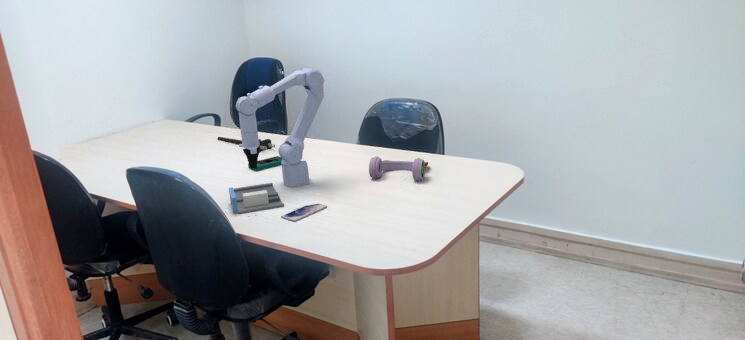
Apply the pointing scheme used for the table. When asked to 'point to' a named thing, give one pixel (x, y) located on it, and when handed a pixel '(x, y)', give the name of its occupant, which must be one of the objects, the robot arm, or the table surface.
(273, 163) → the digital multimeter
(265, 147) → the electrical plug
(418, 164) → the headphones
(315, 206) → the smartphone
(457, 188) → the table surface
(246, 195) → the light grey long block
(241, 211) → the board
